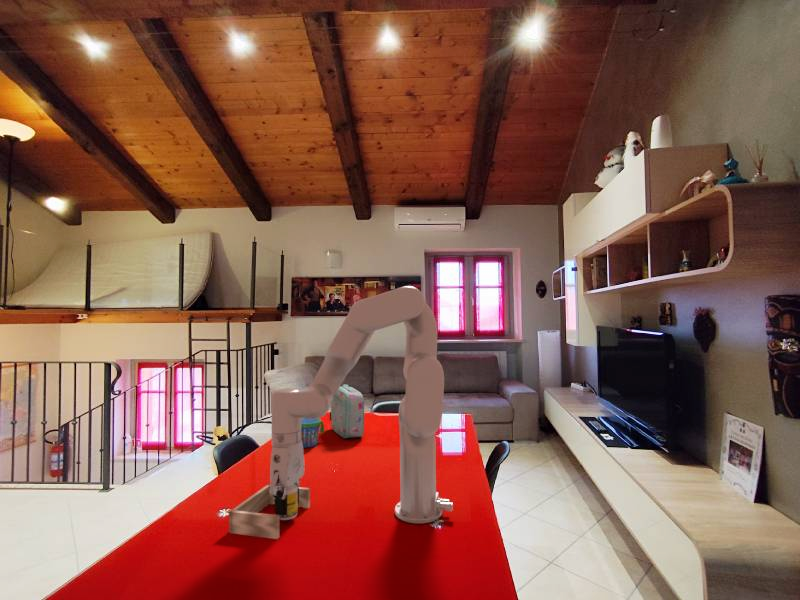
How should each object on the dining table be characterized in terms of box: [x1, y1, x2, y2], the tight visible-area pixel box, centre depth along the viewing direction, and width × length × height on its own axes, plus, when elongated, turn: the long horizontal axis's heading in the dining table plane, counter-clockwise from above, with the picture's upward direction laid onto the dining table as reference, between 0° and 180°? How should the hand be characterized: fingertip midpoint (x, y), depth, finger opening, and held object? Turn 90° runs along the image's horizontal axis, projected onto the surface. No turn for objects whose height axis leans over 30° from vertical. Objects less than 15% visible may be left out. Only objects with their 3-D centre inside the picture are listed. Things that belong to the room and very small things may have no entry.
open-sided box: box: [228, 483, 311, 540], centre depth 105 cm, size 13×17×5 cm
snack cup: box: [301, 418, 325, 448], centre depth 167 cm, size 16×10×10 cm
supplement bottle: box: [275, 483, 299, 521], centre depth 104 cm, size 5×5×10 cm
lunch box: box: [329, 383, 365, 439], centre depth 185 cm, size 27×10×21 cm, turn 25°
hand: (287, 507), depth 104 cm, fingers closed on supplement bottle, 5 cm apart
